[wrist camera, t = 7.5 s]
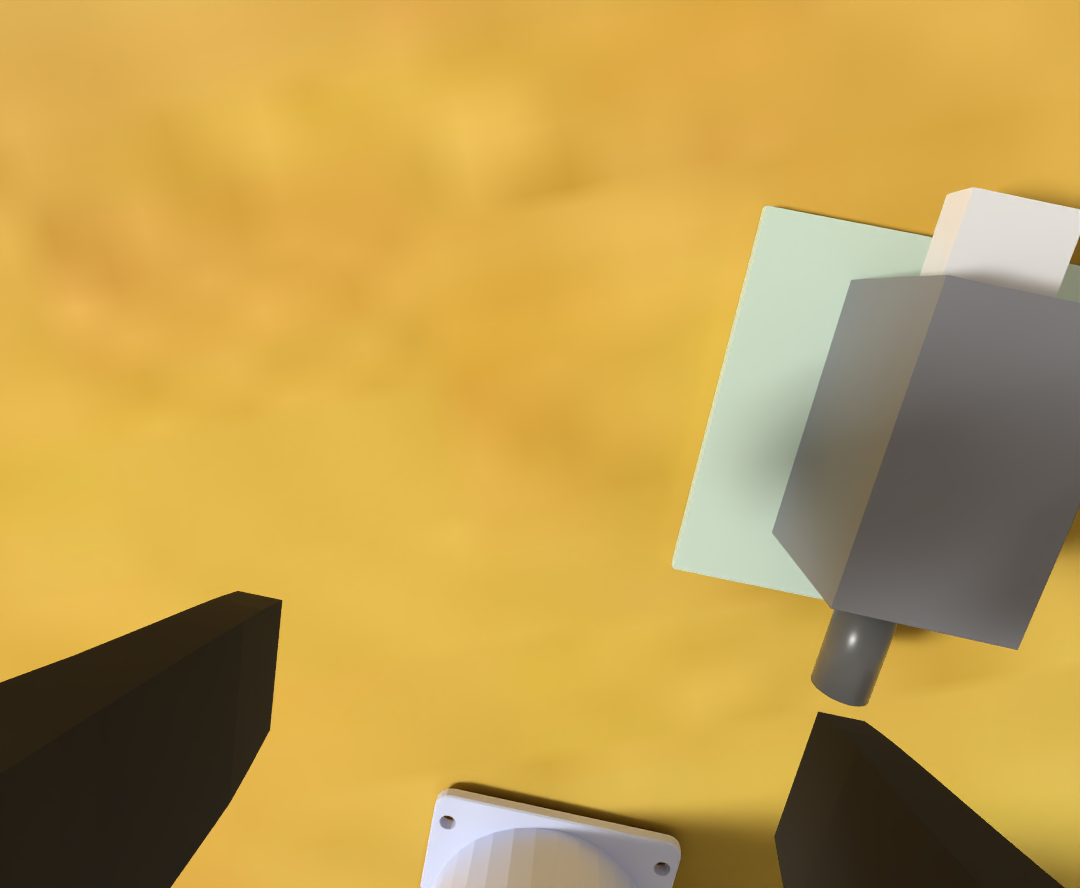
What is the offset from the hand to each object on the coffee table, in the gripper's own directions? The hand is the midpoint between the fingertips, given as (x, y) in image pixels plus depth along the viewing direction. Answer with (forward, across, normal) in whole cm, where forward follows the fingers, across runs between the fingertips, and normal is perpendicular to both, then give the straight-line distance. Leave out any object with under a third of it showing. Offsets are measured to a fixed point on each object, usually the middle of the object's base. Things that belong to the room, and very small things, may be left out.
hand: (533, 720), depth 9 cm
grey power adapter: (+10, -8, -3) cm, 13 cm away
